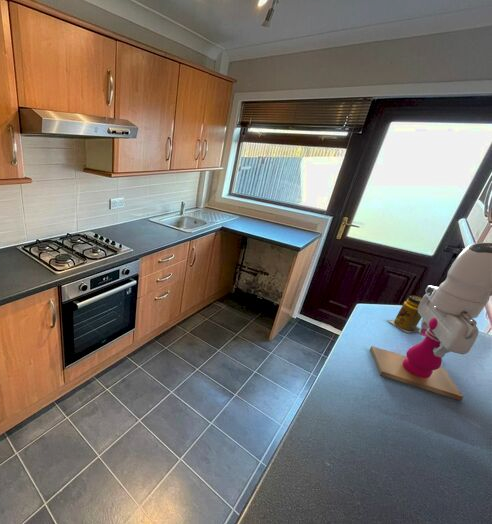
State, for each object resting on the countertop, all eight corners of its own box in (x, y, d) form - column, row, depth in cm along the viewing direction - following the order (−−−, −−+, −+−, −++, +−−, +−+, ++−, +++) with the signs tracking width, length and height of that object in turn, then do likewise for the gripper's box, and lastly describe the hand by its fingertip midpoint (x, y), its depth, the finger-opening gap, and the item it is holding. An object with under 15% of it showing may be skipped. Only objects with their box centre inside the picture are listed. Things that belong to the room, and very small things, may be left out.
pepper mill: (401, 356, 87) (434, 303, 78) (432, 370, 82) (471, 315, 74) (398, 368, 82) (434, 312, 73) (431, 384, 78) (473, 326, 69)
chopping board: (440, 370, 85) (443, 366, 84) (460, 400, 75) (463, 396, 74) (369, 349, 91) (371, 345, 91) (379, 375, 81) (381, 371, 81)
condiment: (387, 320, 107) (401, 294, 102) (405, 319, 108) (420, 293, 103) (406, 333, 101) (422, 305, 95) (425, 332, 102) (442, 304, 97)
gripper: (498, 329, 63) (463, 374, 69) (453, 289, 80) (428, 327, 86) (461, 320, 65) (430, 364, 71) (425, 283, 82) (403, 321, 88)
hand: (429, 344), depth 78 cm, fingers open, 8 cm apart
